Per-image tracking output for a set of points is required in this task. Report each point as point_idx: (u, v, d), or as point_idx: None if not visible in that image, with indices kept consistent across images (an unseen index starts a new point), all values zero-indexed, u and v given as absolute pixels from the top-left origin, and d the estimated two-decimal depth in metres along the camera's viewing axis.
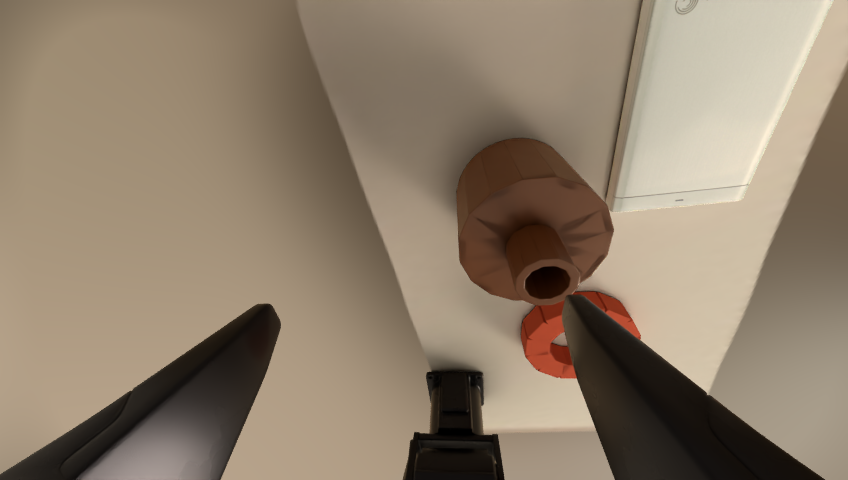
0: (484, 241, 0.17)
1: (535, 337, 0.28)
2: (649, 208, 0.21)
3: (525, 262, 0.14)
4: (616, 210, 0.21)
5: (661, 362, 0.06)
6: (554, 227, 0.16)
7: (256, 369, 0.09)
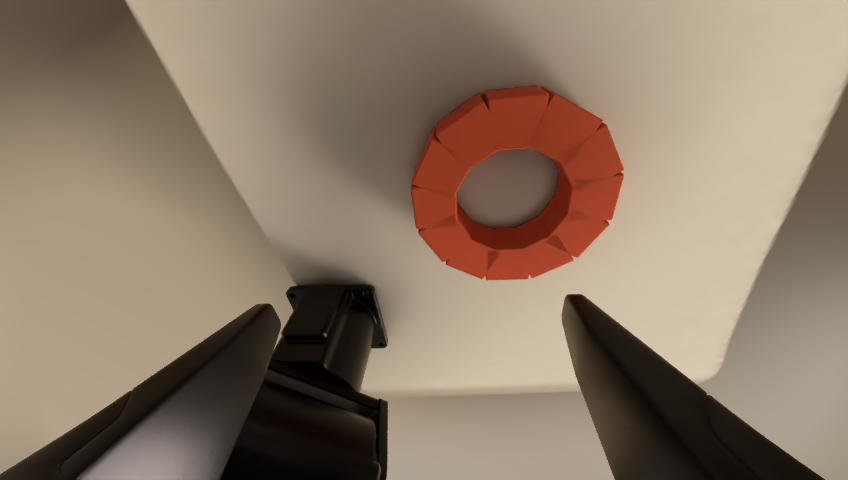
0: None
1: (425, 181, 0.15)
2: None
3: None
4: None
5: (661, 362, 0.06)
6: None
7: (256, 369, 0.09)
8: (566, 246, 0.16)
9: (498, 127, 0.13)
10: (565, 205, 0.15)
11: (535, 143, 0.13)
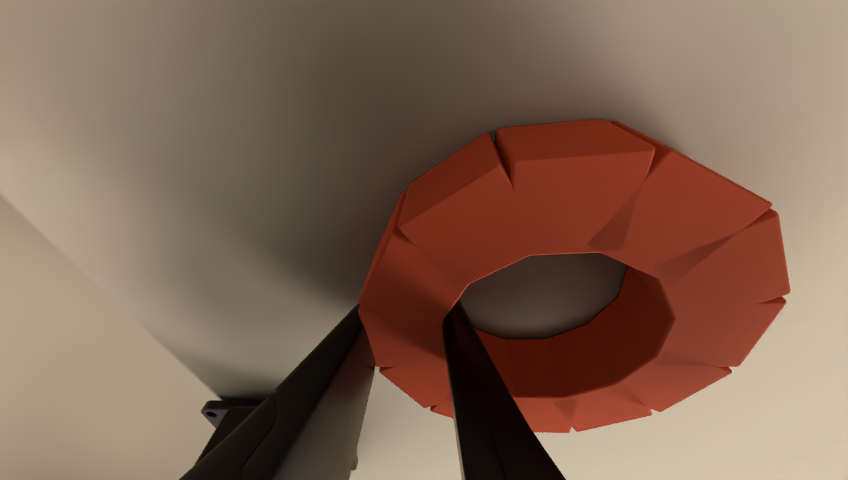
0: None
1: (383, 302, 0.08)
2: None
3: None
4: None
5: (487, 363, 0.06)
6: None
7: (368, 369, 0.08)
8: (644, 398, 0.09)
9: (531, 215, 0.06)
10: (649, 336, 0.08)
11: (610, 245, 0.06)
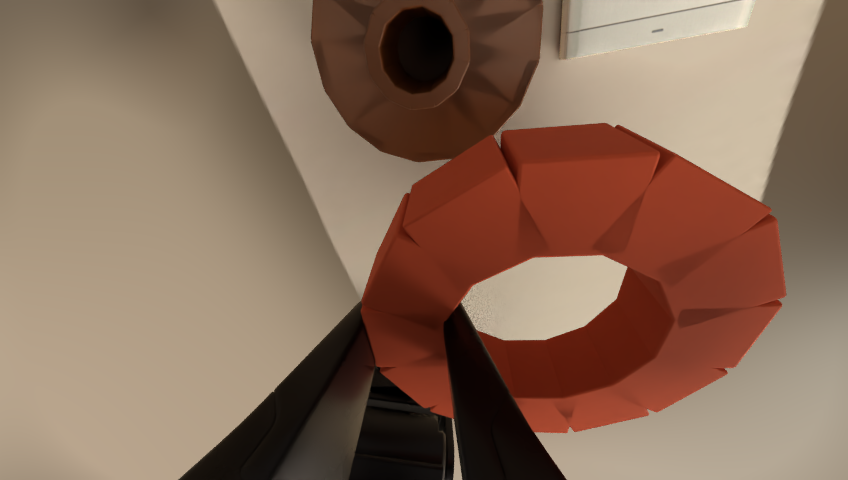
0: (350, 43, 0.11)
1: (386, 303, 0.08)
2: (617, 47, 0.15)
3: None
4: (571, 55, 0.15)
5: (487, 363, 0.06)
6: None
7: (368, 369, 0.08)
8: (641, 399, 0.09)
9: (536, 217, 0.06)
10: (647, 338, 0.08)
11: (612, 248, 0.06)
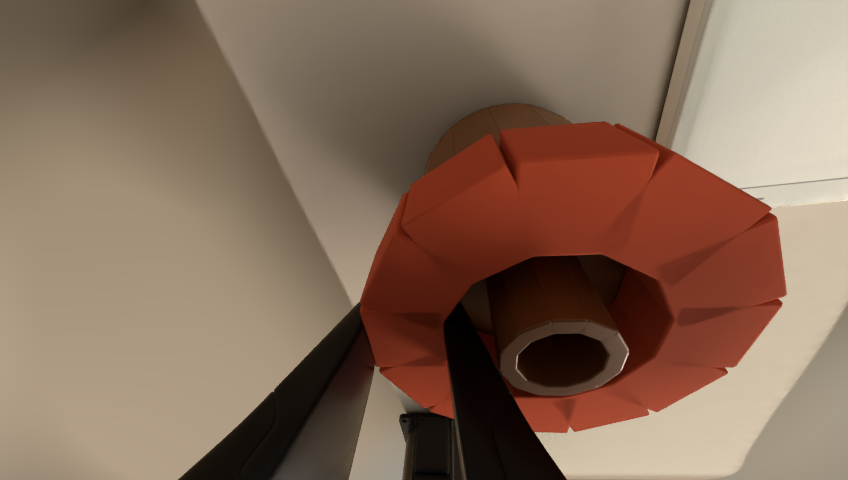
0: None
1: (384, 302, 0.08)
2: None
3: (518, 322, 0.07)
4: None
5: (487, 363, 0.06)
6: None
7: (368, 369, 0.08)
8: (641, 398, 0.09)
9: (535, 216, 0.06)
10: (647, 337, 0.08)
11: (612, 247, 0.06)
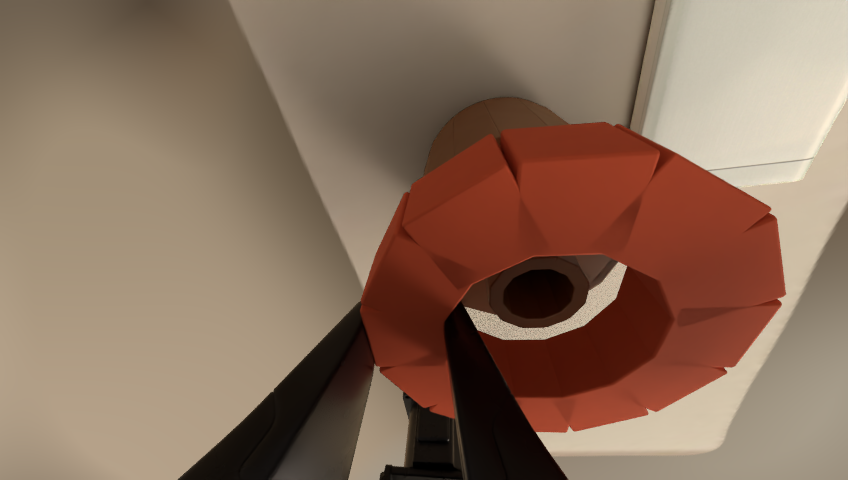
0: None
1: (385, 302, 0.08)
2: None
3: None
4: None
5: (488, 363, 0.06)
6: None
7: (368, 369, 0.08)
8: (641, 398, 0.09)
9: (536, 216, 0.06)
10: (647, 337, 0.08)
11: (612, 247, 0.06)
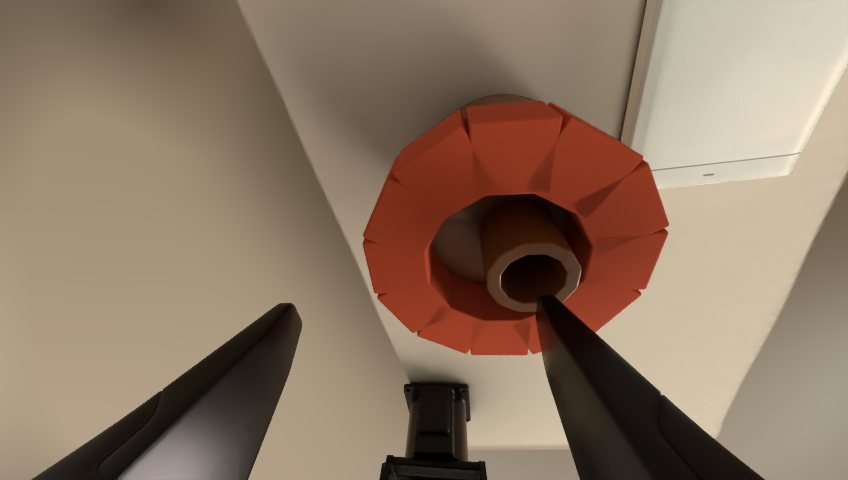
0: (450, 223, 0.12)
1: (381, 235, 0.10)
2: (670, 186, 0.16)
3: (500, 249, 0.10)
4: None
5: (621, 362, 0.06)
6: (545, 202, 0.12)
7: (280, 369, 0.09)
8: (580, 319, 0.12)
9: (485, 164, 0.09)
10: None
11: (540, 187, 0.09)
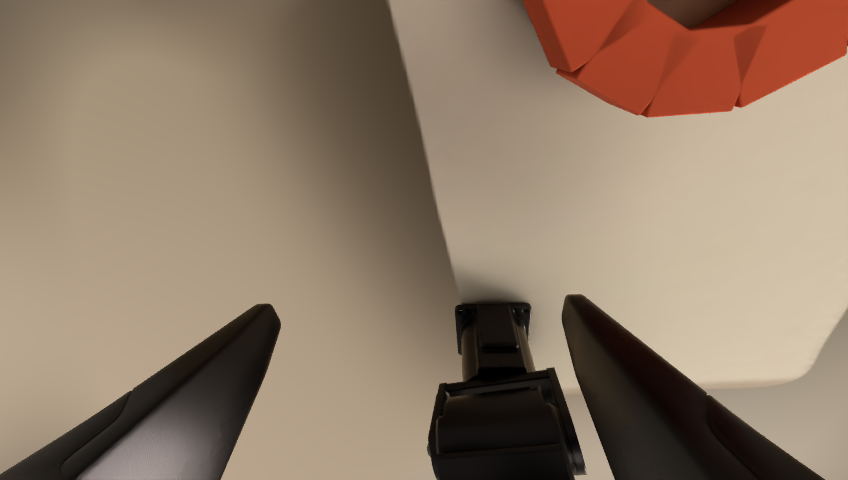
0: None
1: None
2: None
3: None
4: None
5: (661, 362, 0.06)
6: None
7: (256, 369, 0.09)
8: None
9: None
10: None
11: None
